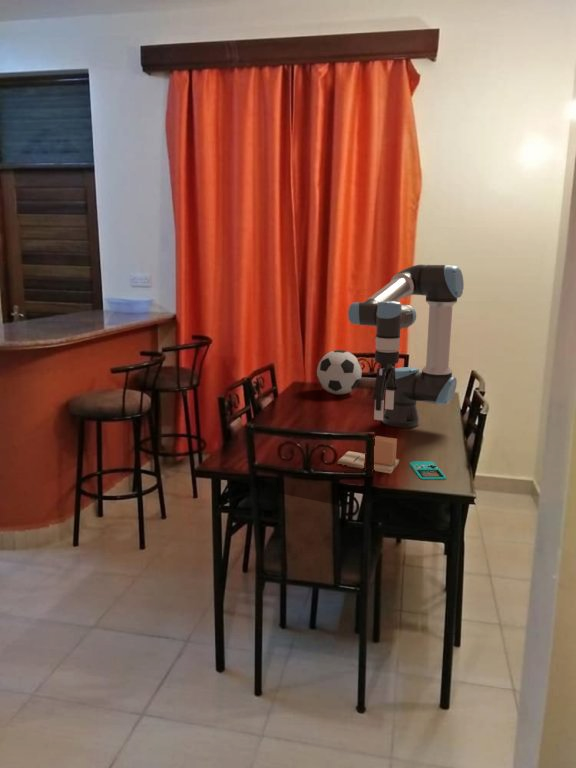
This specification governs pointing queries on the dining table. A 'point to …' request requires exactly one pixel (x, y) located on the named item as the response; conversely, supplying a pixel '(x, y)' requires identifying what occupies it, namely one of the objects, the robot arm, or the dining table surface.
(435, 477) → the handheld gaming console
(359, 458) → the board
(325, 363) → the soccer ball
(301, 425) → the dining table surface
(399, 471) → the dining table surface
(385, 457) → the block
